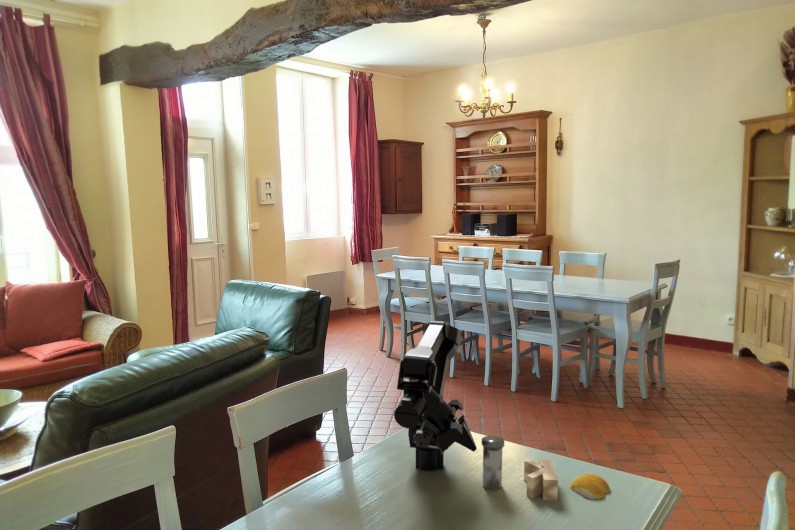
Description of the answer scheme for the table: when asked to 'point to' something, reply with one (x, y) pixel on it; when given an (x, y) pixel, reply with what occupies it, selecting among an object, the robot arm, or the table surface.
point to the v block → (541, 479)
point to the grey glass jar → (492, 462)
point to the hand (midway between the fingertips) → (475, 449)
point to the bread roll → (590, 486)
